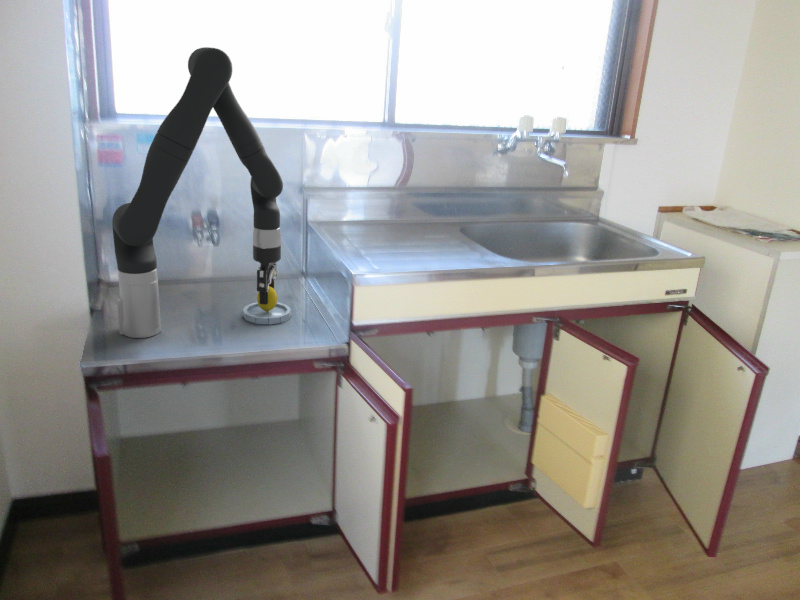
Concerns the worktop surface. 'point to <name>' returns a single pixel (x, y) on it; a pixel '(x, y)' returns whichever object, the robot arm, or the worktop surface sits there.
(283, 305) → the dish
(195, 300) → the worktop surface
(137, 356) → the worktop surface
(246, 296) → the worktop surface
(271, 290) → the lemon
